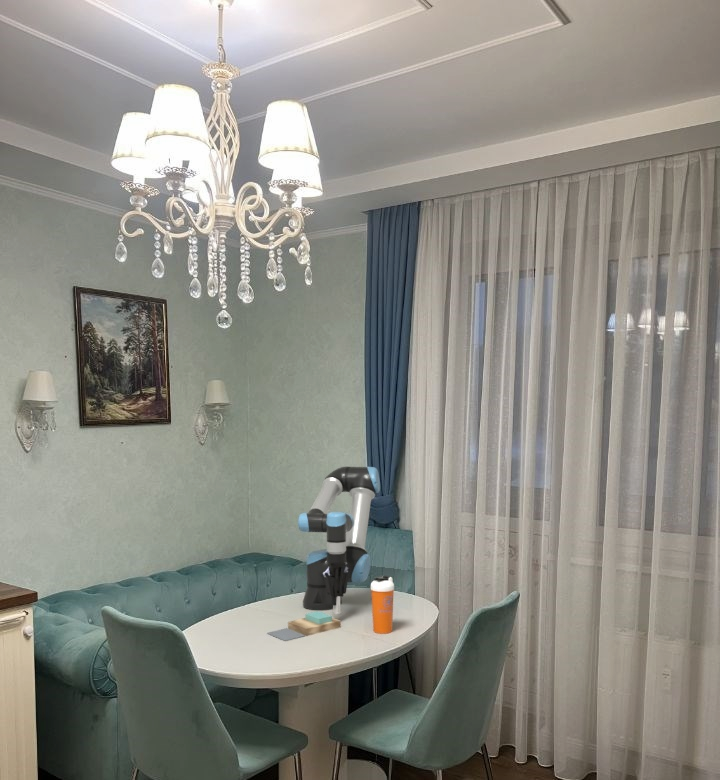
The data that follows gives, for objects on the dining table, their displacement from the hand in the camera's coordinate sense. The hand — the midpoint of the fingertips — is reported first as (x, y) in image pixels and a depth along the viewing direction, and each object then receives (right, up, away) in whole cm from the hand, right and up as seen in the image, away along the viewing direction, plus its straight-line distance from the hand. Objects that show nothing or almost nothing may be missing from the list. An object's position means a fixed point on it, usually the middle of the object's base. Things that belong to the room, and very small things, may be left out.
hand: (336, 613), depth 278 cm
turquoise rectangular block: (-7, -1, -6) cm, 9 cm away
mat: (-18, -3, -15) cm, 24 cm away
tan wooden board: (-8, -3, -7) cm, 11 cm away
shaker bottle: (+18, -3, -11) cm, 21 cm away
